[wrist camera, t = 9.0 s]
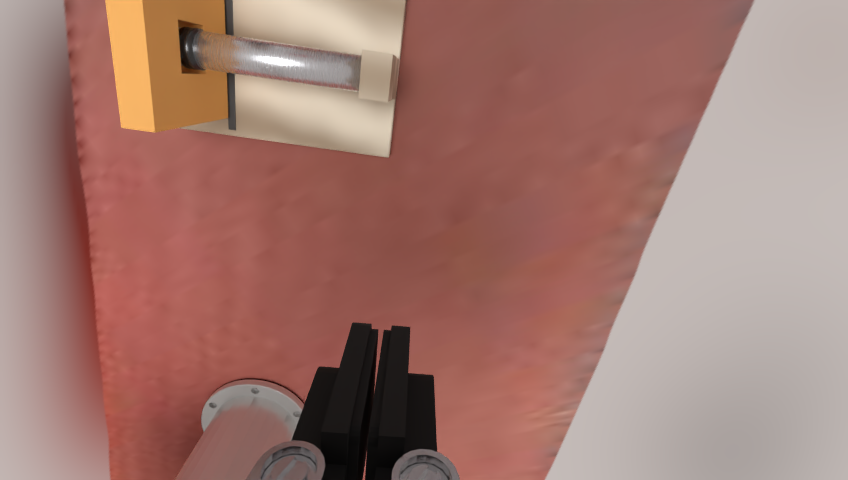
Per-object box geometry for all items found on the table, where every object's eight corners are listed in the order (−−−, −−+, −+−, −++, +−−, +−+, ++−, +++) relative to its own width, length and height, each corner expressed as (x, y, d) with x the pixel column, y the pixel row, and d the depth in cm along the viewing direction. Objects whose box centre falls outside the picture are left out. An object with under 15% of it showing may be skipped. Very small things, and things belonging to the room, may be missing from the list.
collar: (228, 118, 34) (155, 132, 25) (203, 114, 34) (121, 127, 25) (223, -20, 31) (136, -63, 21) (196, -24, 30) (96, -70, 21)
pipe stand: (389, 154, 37) (380, 174, 29) (188, 126, 36) (123, 139, 28) (407, -8, 33) (402, -36, 25) (177, -45, 32) (95, -87, 24)
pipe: (384, 96, 30) (381, 98, 28) (148, 61, 29) (123, 59, 27) (388, 58, 29) (385, 56, 27) (144, 20, 28) (118, 15, 26)
